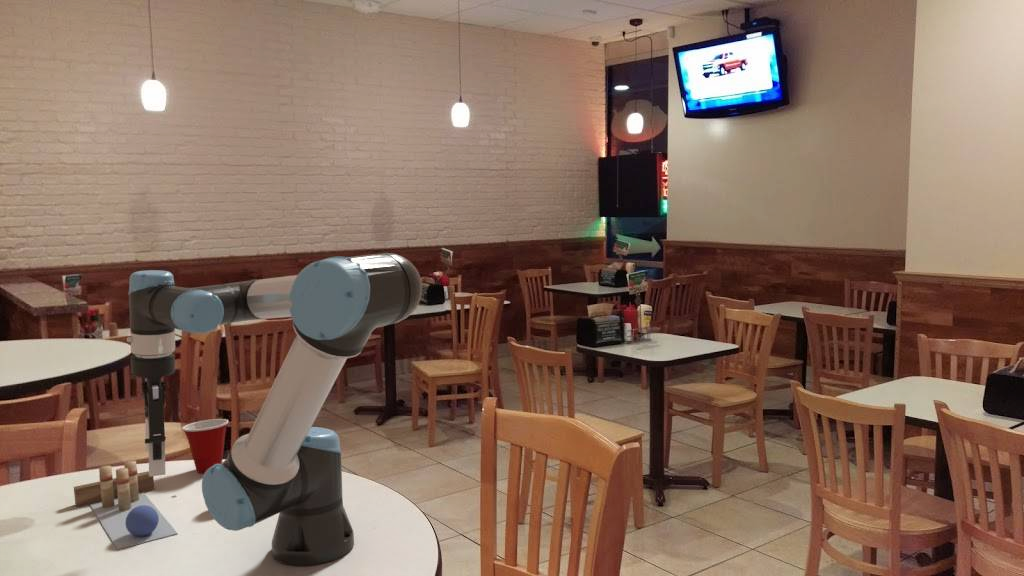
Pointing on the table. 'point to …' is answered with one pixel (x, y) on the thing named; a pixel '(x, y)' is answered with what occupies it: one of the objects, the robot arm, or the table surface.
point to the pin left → (106, 486)
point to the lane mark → (117, 523)
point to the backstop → (93, 490)
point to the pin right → (132, 480)
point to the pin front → (123, 489)
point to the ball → (142, 520)
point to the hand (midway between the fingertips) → (155, 462)
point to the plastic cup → (206, 442)
